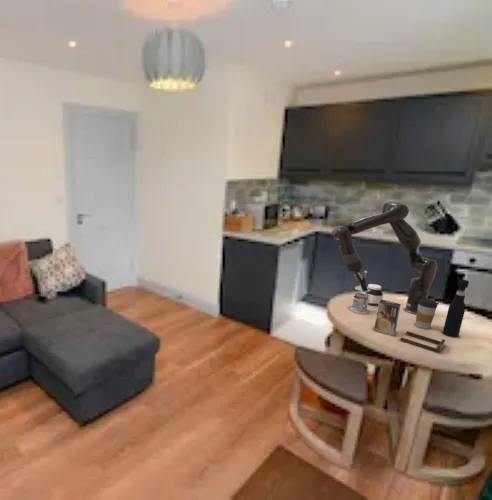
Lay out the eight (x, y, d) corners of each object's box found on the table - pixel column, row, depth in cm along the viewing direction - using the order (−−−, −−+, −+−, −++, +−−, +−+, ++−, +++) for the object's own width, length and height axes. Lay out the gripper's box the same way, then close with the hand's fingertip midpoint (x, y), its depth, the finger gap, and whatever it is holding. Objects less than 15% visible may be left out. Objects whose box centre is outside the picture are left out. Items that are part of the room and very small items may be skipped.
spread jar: (383, 306, 226) (386, 288, 223) (367, 307, 224) (370, 289, 221) (368, 298, 237) (371, 281, 234) (352, 299, 235) (355, 282, 232)
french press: (361, 306, 224) (368, 268, 218) (374, 315, 213) (381, 274, 207) (346, 306, 224) (352, 268, 218) (357, 315, 213) (364, 274, 206)
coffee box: (396, 331, 193) (401, 303, 189) (393, 336, 189) (399, 307, 185) (376, 326, 199) (381, 299, 195) (373, 330, 195) (378, 302, 191)
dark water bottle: (439, 331, 194) (452, 278, 186) (450, 331, 194) (463, 278, 187) (450, 337, 188) (464, 282, 180) (461, 337, 188) (476, 282, 180)
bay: (406, 333, 192) (407, 328, 191) (444, 345, 180) (445, 339, 180) (400, 340, 185) (401, 335, 184) (439, 353, 173) (440, 347, 172)
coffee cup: (435, 330, 195) (441, 304, 191) (417, 329, 197) (423, 303, 193) (426, 323, 203) (432, 298, 199) (410, 322, 204) (415, 297, 201)
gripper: (363, 260, 191) (376, 290, 190) (357, 257, 203) (369, 286, 202) (347, 265, 193) (361, 295, 193) (343, 262, 206) (355, 290, 205)
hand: (365, 290), depth 198 cm, fingers closed
